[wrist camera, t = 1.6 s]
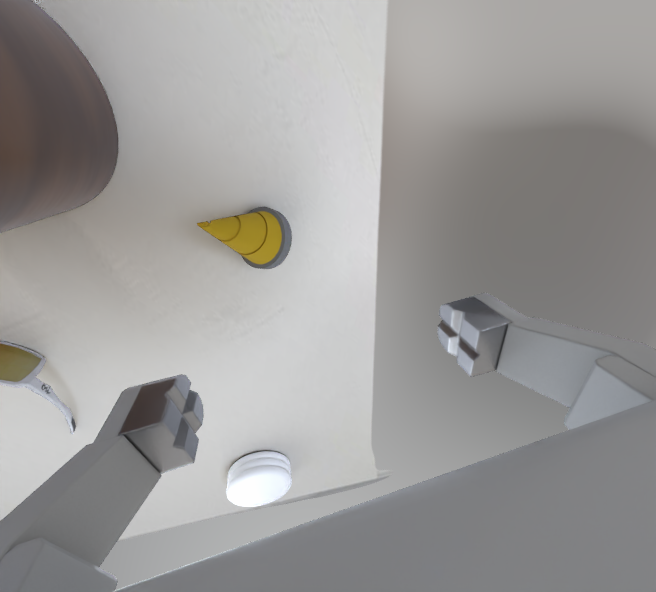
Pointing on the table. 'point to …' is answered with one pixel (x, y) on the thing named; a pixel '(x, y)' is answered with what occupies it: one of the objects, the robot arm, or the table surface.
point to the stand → (48, 120)
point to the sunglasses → (28, 375)
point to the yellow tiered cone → (254, 236)
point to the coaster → (258, 479)
